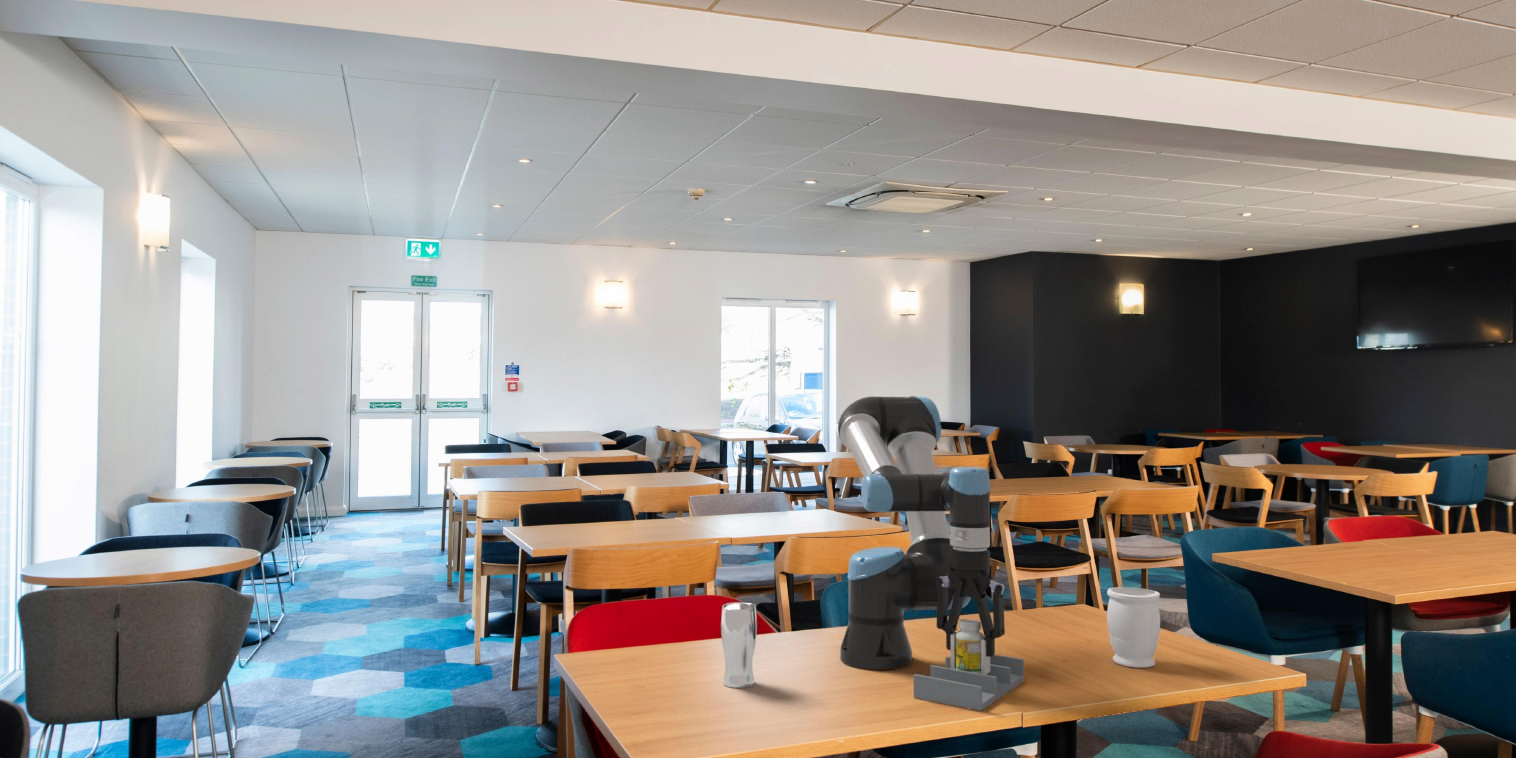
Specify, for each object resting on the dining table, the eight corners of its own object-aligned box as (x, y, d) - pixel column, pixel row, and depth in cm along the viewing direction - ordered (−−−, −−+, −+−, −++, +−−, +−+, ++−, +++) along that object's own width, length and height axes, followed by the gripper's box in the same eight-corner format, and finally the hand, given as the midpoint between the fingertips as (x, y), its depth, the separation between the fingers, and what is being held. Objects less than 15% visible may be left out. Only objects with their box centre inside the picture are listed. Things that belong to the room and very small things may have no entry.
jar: (1166, 671, 186) (1165, 597, 186) (1112, 668, 188) (1111, 595, 189) (1154, 657, 196) (1153, 587, 197) (1103, 654, 198) (1102, 585, 199)
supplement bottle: (988, 675, 172) (988, 624, 172) (960, 676, 172) (960, 624, 172) (979, 667, 177) (979, 617, 178) (952, 667, 177) (952, 618, 177)
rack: (913, 697, 169) (913, 674, 169) (961, 669, 187) (961, 648, 187) (980, 711, 161) (980, 687, 162) (1023, 680, 180) (1023, 659, 180)
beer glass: (725, 690, 173) (725, 610, 174) (717, 679, 180) (717, 602, 180) (760, 687, 175) (761, 608, 176) (751, 676, 182) (751, 601, 182)
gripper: (917, 546, 177) (917, 666, 177) (1009, 555, 167) (1010, 683, 166) (933, 541, 183) (934, 657, 183) (1023, 550, 173) (1024, 673, 172)
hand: (970, 669), depth 174 cm, fingers closed on supplement bottle, 5 cm apart
